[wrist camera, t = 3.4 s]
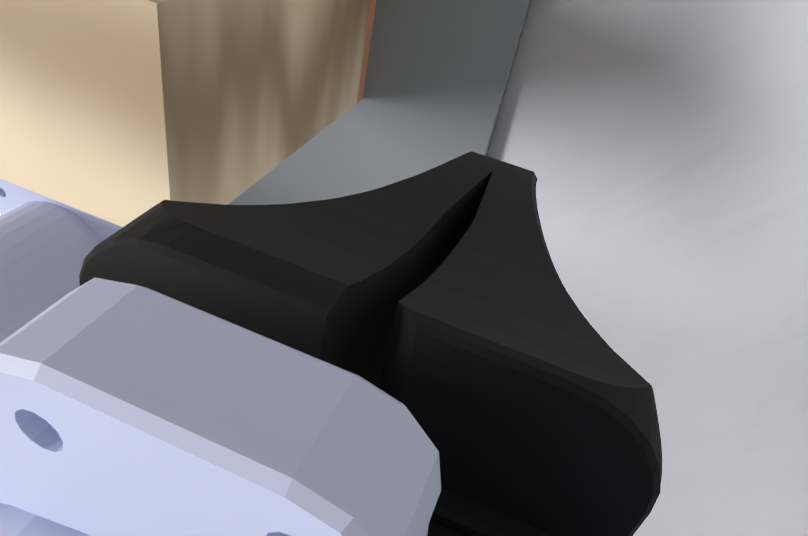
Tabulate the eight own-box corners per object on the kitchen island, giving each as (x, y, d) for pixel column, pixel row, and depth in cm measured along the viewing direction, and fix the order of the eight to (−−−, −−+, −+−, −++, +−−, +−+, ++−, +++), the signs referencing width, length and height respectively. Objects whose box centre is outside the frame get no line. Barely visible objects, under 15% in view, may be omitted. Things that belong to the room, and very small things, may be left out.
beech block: (362, 98, 21) (173, 247, 13) (233, 56, 22) (-15, 172, 14) (385, -65, 18) (156, 3, 10) (234, -106, 19) (-82, -72, 11)
